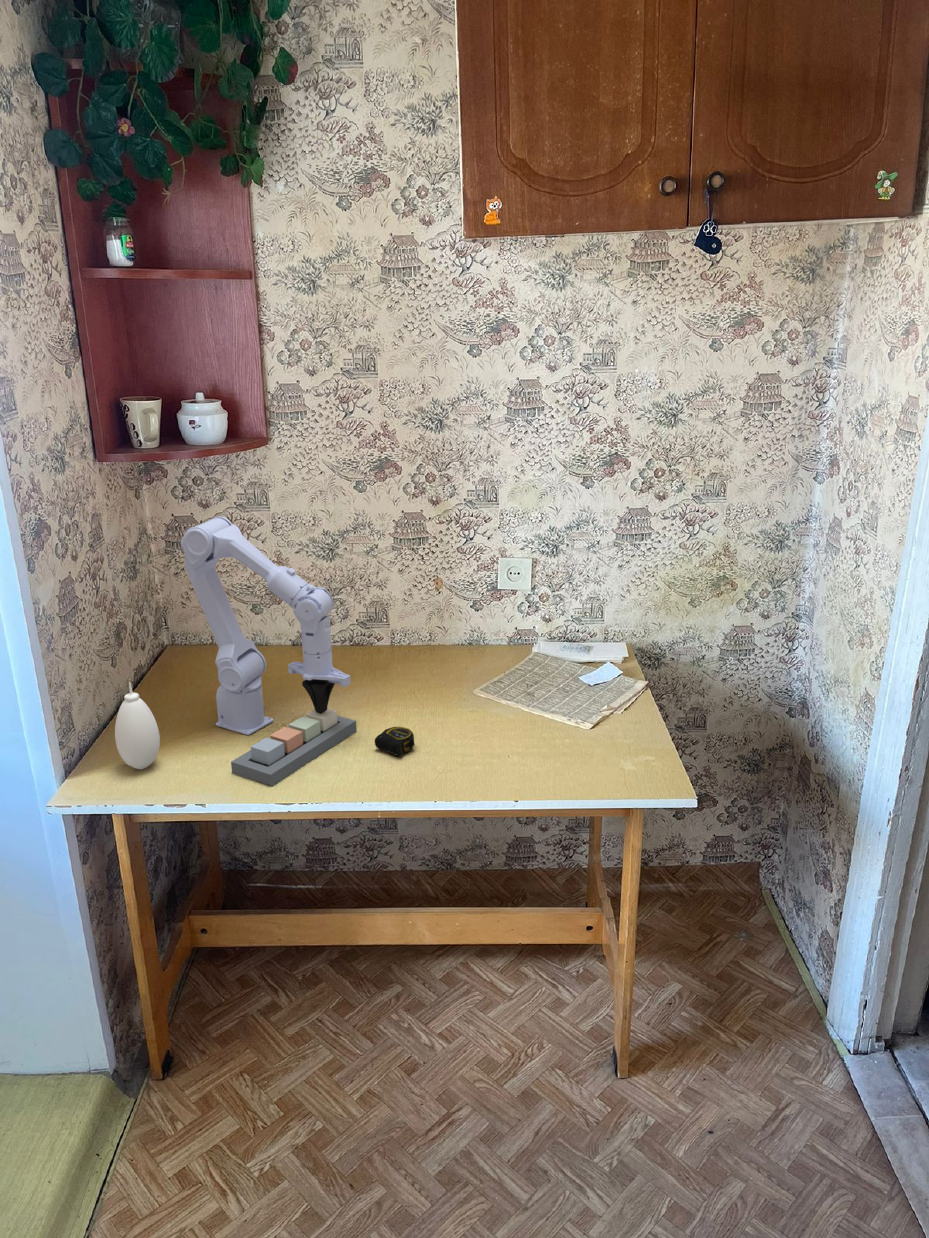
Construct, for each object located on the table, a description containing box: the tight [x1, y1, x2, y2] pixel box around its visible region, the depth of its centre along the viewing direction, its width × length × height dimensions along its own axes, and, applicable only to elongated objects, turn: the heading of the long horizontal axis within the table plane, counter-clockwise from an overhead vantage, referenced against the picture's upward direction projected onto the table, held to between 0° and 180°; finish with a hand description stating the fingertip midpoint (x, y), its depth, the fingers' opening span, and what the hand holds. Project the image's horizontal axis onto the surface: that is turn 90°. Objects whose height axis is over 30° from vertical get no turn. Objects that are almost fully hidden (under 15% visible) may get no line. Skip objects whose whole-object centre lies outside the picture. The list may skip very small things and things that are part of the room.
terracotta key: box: [269, 726, 303, 753], centre depth 185 cm, size 4×4×3 cm
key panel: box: [230, 714, 358, 788], centre depth 188 cm, size 10×26×2 cm, turn 149°
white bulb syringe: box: [114, 681, 161, 770], centre depth 180 cm, size 8×8×18 cm
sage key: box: [287, 715, 321, 742], centre depth 189 cm, size 4×4×3 cm
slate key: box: [250, 737, 285, 765], centre depth 180 cm, size 4×4×3 cm
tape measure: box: [374, 726, 415, 757], centre depth 188 cm, size 7×7×4 cm
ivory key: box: [305, 707, 338, 731], centre depth 193 cm, size 4×4×3 cm
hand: (321, 711), depth 193 cm, fingers closed
